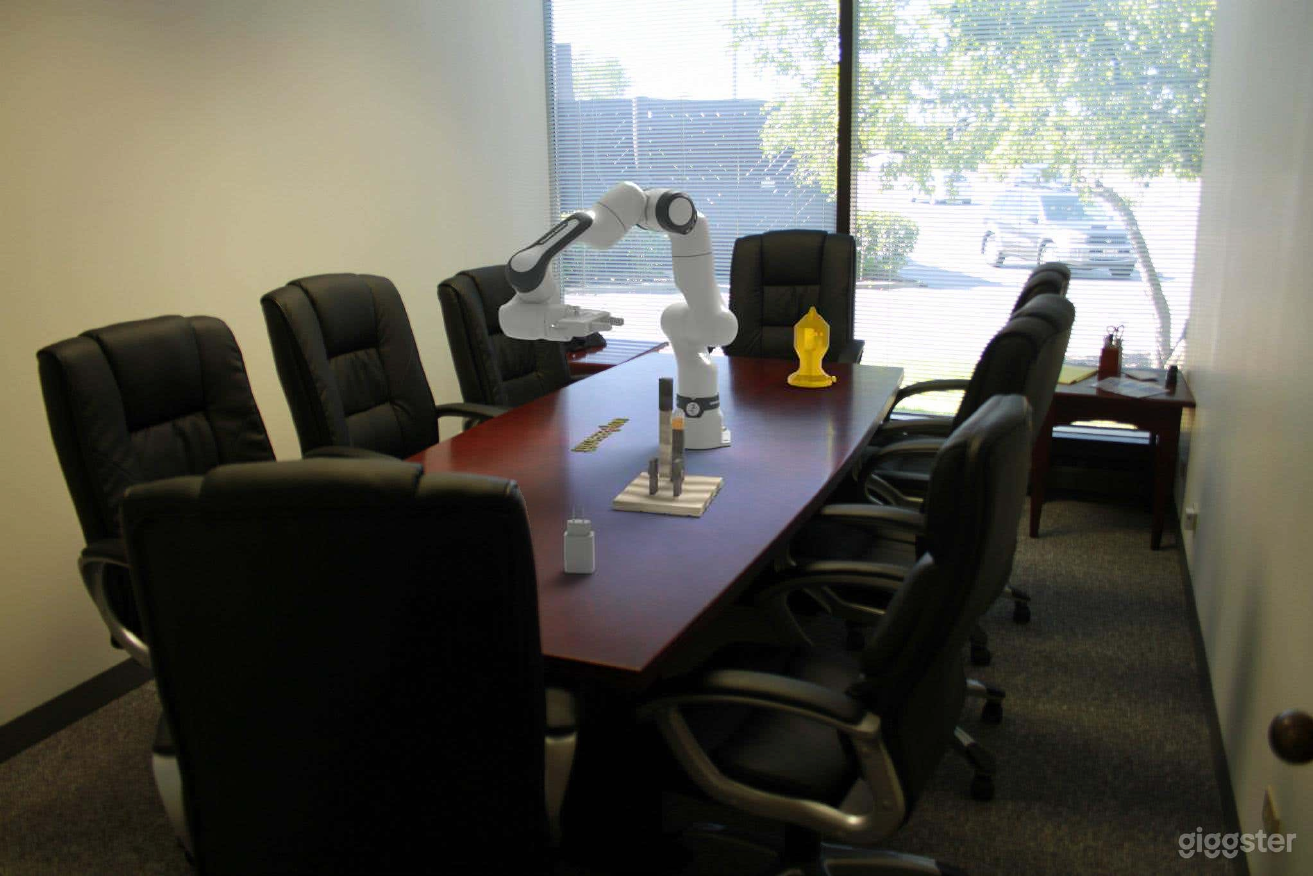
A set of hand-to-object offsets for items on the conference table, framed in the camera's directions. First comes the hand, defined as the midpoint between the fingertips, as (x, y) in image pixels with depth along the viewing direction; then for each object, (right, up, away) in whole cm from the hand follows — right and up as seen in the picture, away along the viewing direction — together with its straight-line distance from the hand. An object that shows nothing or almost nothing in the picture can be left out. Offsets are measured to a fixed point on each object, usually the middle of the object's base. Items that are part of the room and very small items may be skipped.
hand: (617, 324), depth 233 cm
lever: (+11, -35, -11) cm, 38 cm away
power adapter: (-5, -52, -50) cm, 72 cm away
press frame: (+12, -41, -6) cm, 43 cm away
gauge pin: (+14, -24, -4) cm, 28 cm away
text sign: (-7, -27, +52) cm, 59 cm away
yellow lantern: (+67, -7, +129) cm, 146 cm away
